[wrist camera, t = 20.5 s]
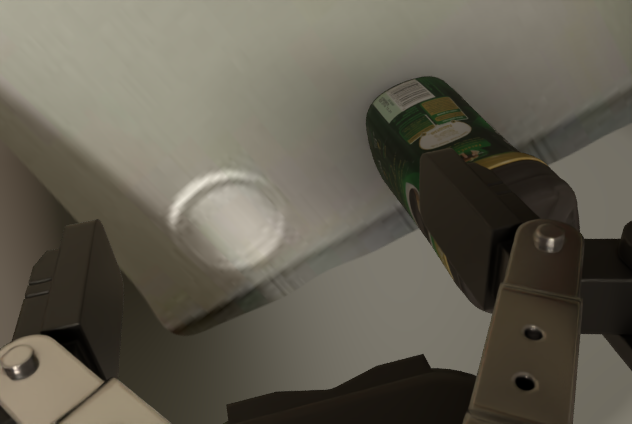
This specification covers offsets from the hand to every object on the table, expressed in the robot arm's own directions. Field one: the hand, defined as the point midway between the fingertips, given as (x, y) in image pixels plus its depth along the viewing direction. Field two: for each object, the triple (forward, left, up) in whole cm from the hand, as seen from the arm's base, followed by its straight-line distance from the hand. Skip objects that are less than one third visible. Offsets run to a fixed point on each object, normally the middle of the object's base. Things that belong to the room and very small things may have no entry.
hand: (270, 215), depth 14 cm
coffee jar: (-9, +18, -28) cm, 35 cm away
